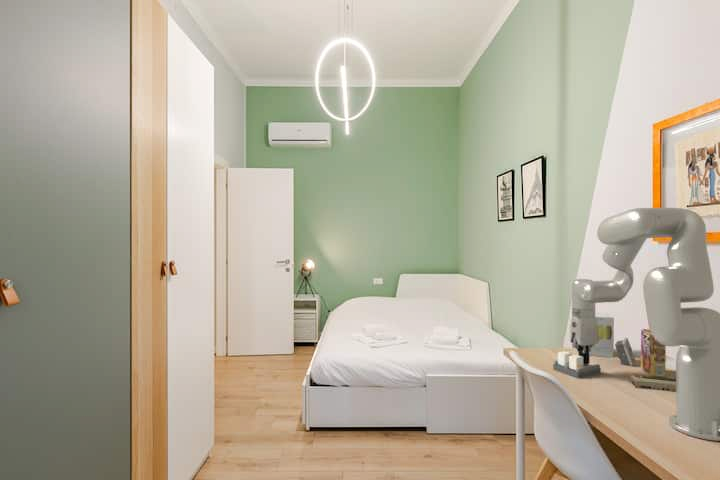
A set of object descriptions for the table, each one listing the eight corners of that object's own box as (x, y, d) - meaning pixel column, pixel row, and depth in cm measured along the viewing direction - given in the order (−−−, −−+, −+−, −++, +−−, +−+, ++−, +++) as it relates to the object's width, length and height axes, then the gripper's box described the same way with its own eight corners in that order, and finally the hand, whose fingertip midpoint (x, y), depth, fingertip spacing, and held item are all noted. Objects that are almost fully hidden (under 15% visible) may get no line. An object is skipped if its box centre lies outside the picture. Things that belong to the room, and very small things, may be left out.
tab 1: (571, 365, 151) (571, 353, 151) (564, 366, 150) (564, 354, 150) (564, 362, 154) (564, 351, 154) (557, 364, 153) (557, 352, 153)
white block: (583, 368, 147) (583, 356, 147) (576, 370, 145) (576, 358, 145) (576, 366, 150) (576, 354, 150) (569, 367, 148) (569, 355, 148)
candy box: (666, 377, 144) (666, 334, 144) (653, 376, 145) (653, 334, 144) (653, 369, 153) (652, 328, 153) (640, 368, 153) (640, 328, 153)
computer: (683, 386, 137) (683, 376, 137) (693, 394, 129) (693, 384, 129) (628, 380, 142) (628, 371, 142) (635, 389, 135) (635, 379, 135)
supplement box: (588, 355, 170) (588, 315, 170) (583, 349, 179) (583, 311, 179) (614, 357, 168) (614, 316, 168) (608, 351, 177) (607, 312, 176)
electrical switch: (633, 367, 156) (630, 342, 156) (617, 365, 159) (614, 341, 159) (635, 361, 163) (632, 337, 163) (620, 360, 166) (617, 337, 167)
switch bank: (600, 373, 149) (600, 364, 149) (577, 378, 144) (577, 368, 144) (575, 365, 158) (575, 356, 158) (553, 369, 154) (553, 360, 153)
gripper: (578, 316, 143) (578, 368, 143) (607, 313, 148) (607, 363, 149) (560, 313, 149) (560, 362, 150) (588, 309, 155) (588, 357, 155)
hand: (583, 362), depth 149 cm, fingers closed
